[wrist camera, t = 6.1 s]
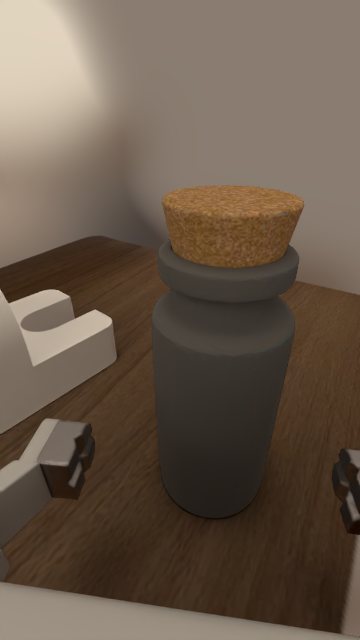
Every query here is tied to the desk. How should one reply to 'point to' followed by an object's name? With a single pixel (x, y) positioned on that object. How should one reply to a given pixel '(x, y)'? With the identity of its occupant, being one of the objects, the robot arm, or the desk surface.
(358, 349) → the desk surface
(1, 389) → the white slotted bracket
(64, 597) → the robot arm
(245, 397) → the bottle
